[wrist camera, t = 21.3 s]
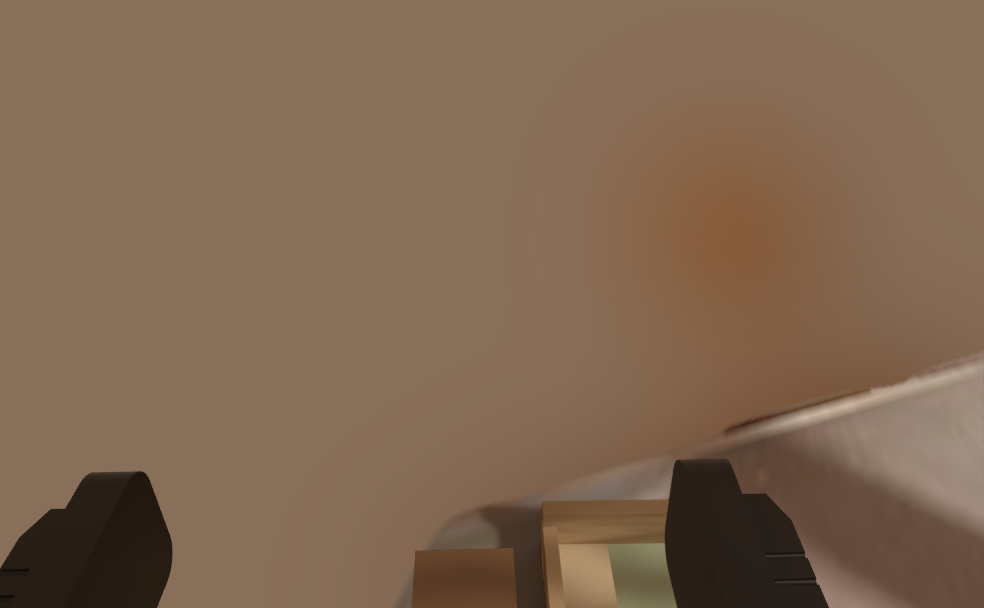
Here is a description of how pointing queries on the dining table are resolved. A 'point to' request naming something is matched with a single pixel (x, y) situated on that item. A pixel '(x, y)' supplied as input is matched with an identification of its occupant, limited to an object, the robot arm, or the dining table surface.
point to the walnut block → (464, 579)
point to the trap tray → (605, 554)
